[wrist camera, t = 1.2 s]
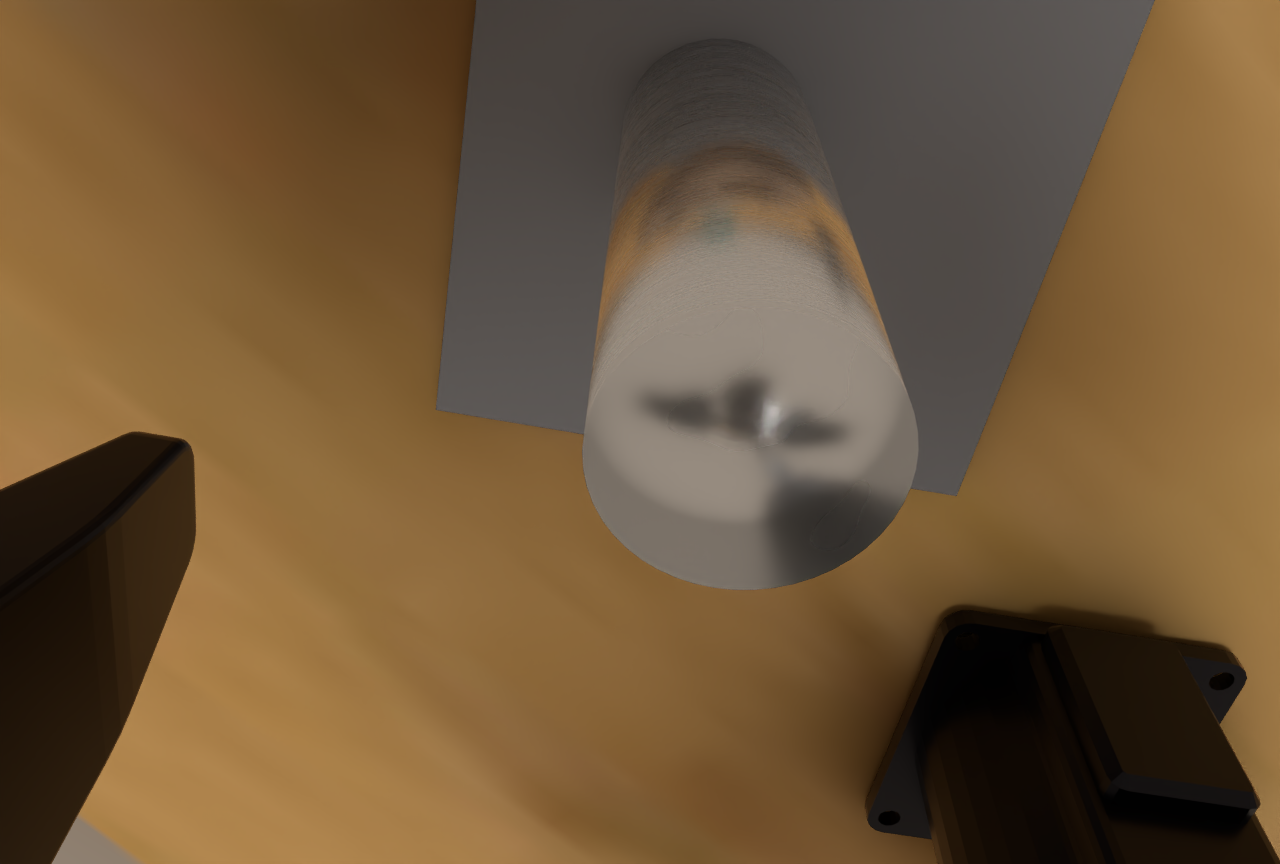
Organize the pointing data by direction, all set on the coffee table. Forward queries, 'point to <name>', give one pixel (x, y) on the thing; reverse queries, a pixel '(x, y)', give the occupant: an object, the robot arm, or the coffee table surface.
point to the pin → (738, 338)
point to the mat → (856, 155)
